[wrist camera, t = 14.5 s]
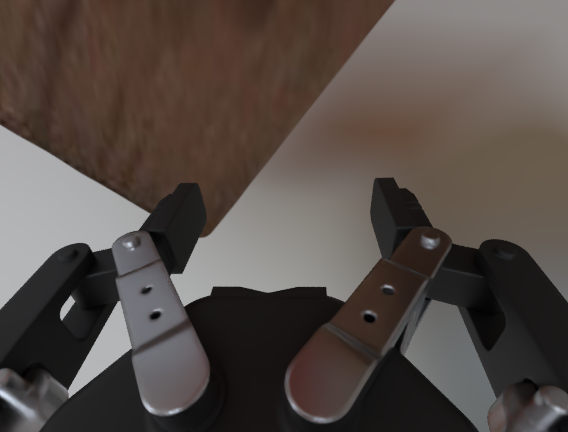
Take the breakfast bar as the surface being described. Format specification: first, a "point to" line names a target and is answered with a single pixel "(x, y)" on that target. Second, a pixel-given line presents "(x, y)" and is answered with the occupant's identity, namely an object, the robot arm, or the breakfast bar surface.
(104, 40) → the breakfast bar surface
